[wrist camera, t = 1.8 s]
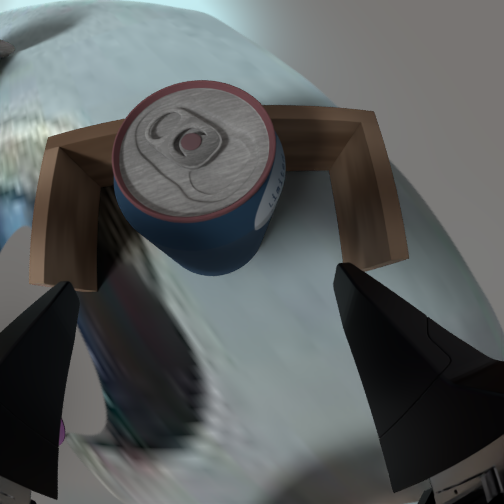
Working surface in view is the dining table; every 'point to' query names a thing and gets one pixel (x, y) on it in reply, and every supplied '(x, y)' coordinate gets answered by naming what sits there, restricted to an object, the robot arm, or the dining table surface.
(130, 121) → the soda can
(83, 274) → the wooden u-shaped frame
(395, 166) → the dining table surface
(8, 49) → the disc
